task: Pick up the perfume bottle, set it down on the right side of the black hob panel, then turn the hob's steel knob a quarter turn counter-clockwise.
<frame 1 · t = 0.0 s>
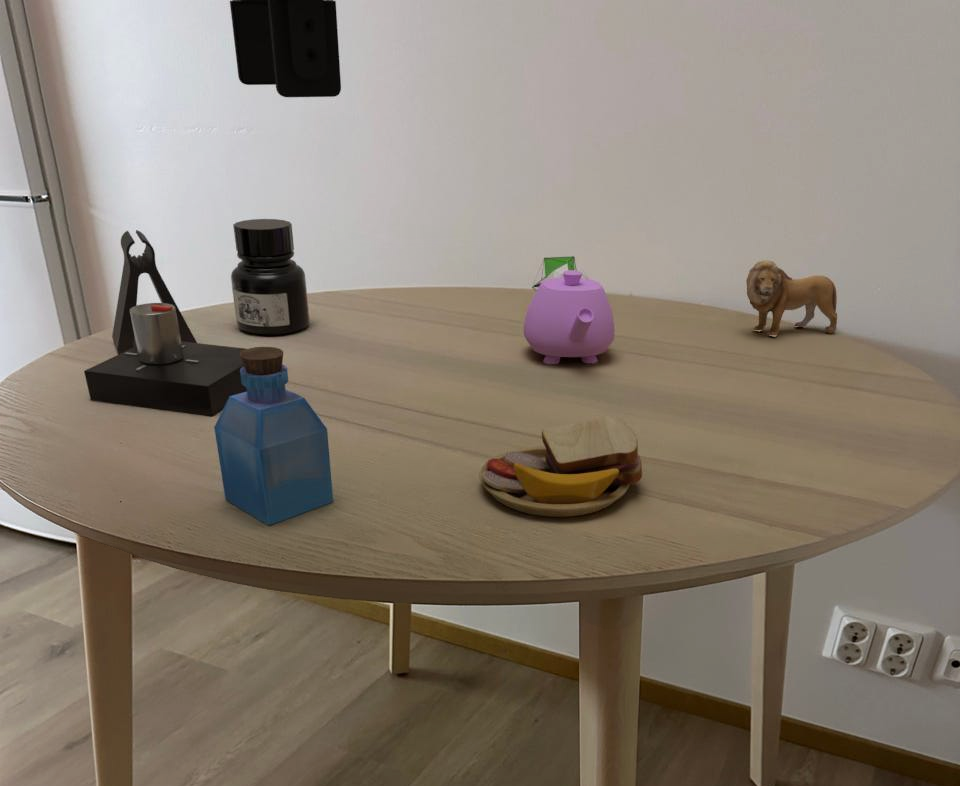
hand: (287, 89, 50), 29 cm above the table, tool pointing down, fingers open, 9 cm apart
teapot: (568, 359, 107), on the table
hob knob: (156, 332, 94), point 6 cm above the table, hinge at 0.0°
lion figurine: (786, 335, 117), on the table
hob: (183, 388, 97), on the table
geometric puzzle: (558, 309, 125), on the table
ink bottle: (274, 328, 116), on the table
toy sandwich meal: (559, 488, 78), on the table
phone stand: (155, 344, 110), on the table
perfume bottle: (279, 503, 75), on the table
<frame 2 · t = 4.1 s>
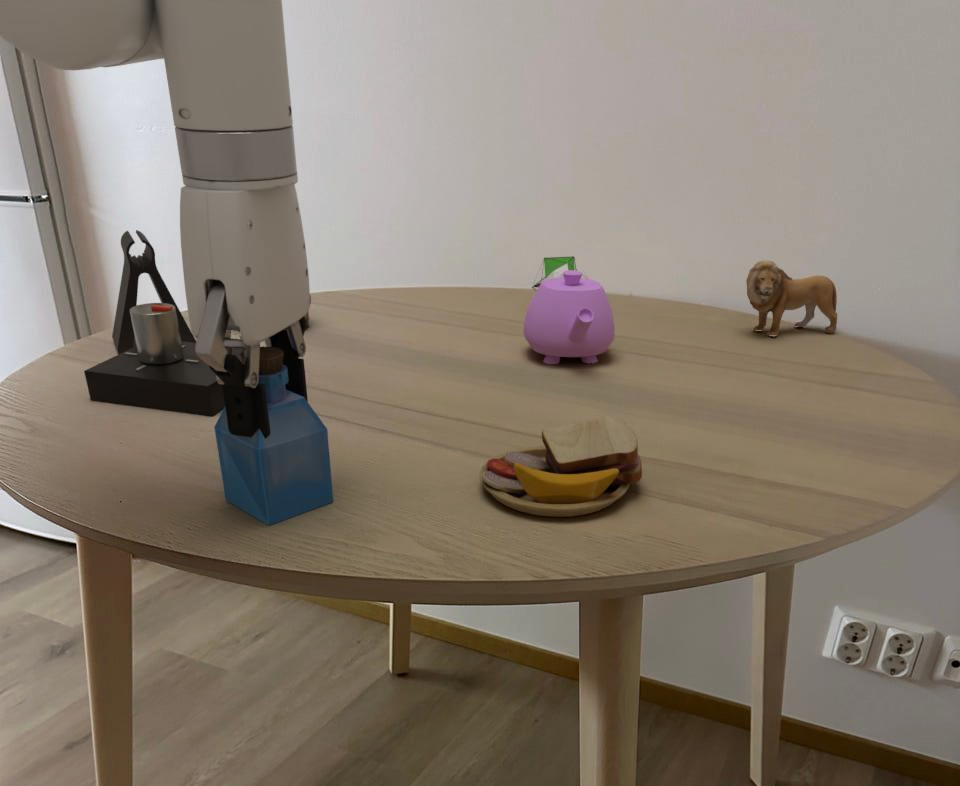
hand: (269, 418, 71), 7 cm above the table, tool pointing down, fingers closed on perfume bottle, 5 cm apart
perfume bottle: (279, 503, 75), on the table, touching gripper
everything else where it was.
when the fingers open (7 cm above the table, at t = 11.2 s): perfume bottle stays where it is, on the table.
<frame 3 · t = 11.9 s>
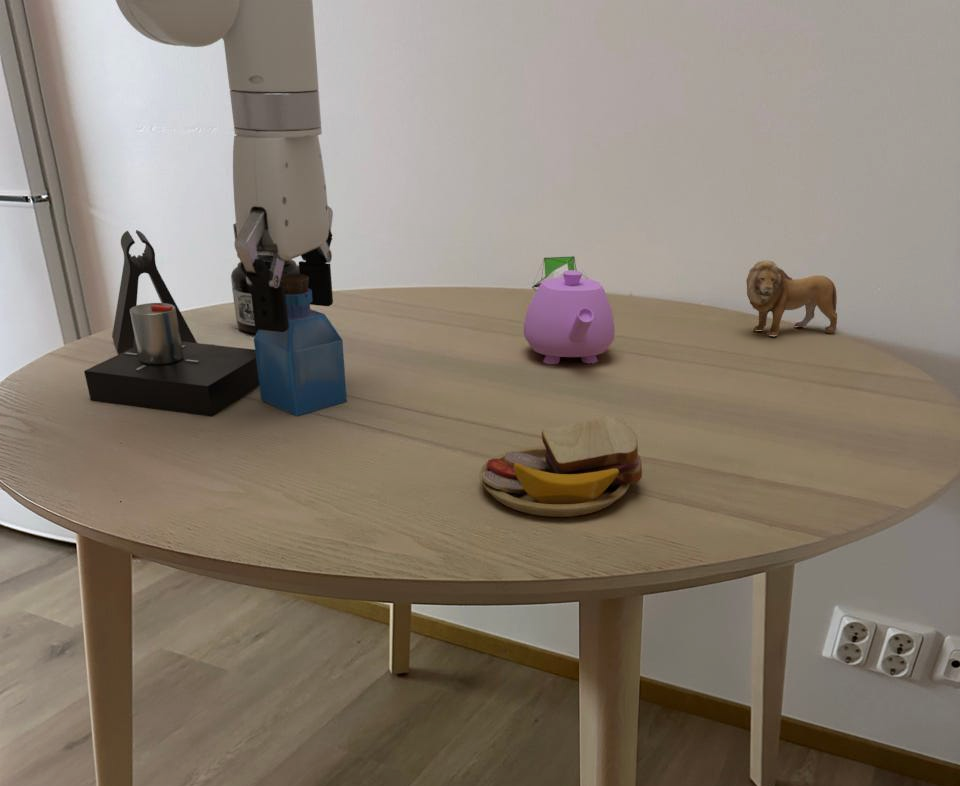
hand: (295, 316, 90), 8 cm above the table, tool pointing down, fingers open, 9 cm apart
perfume bottle: (304, 402, 94), on the table
everything else where it was.
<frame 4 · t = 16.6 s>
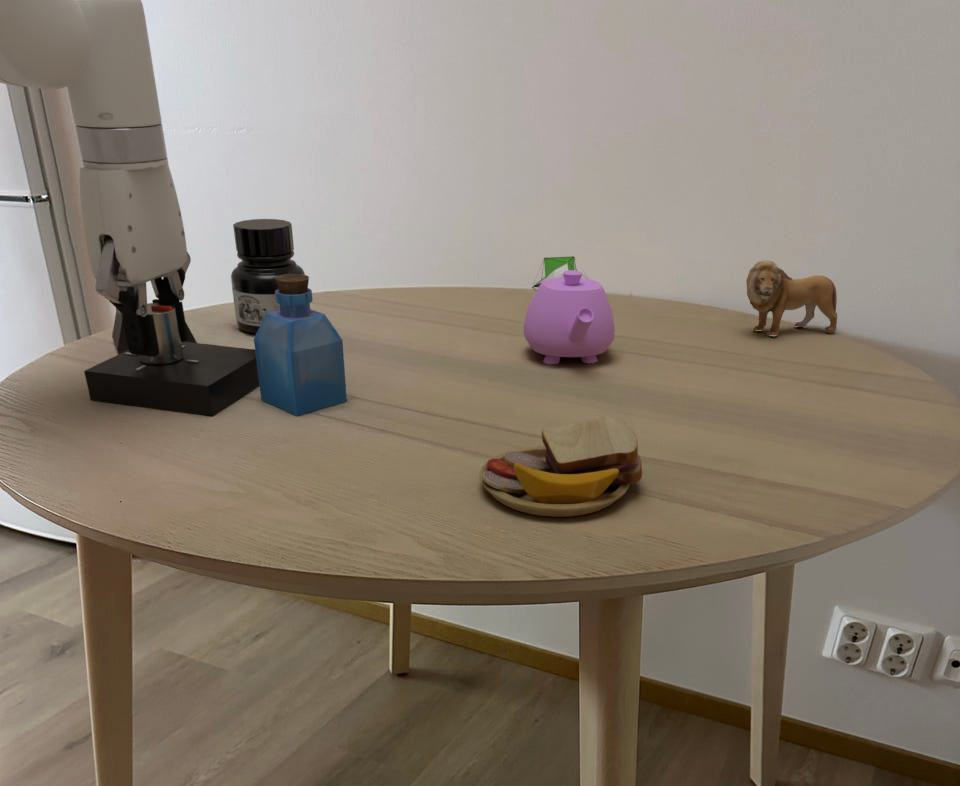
hand: (159, 345, 95), 4 cm above the table, tool pointing down, fingers closed on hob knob, 4 cm apart
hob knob: (156, 332, 94), point 6 cm above the table, hinge at 0.1°, touching gripper
everything else where it was.
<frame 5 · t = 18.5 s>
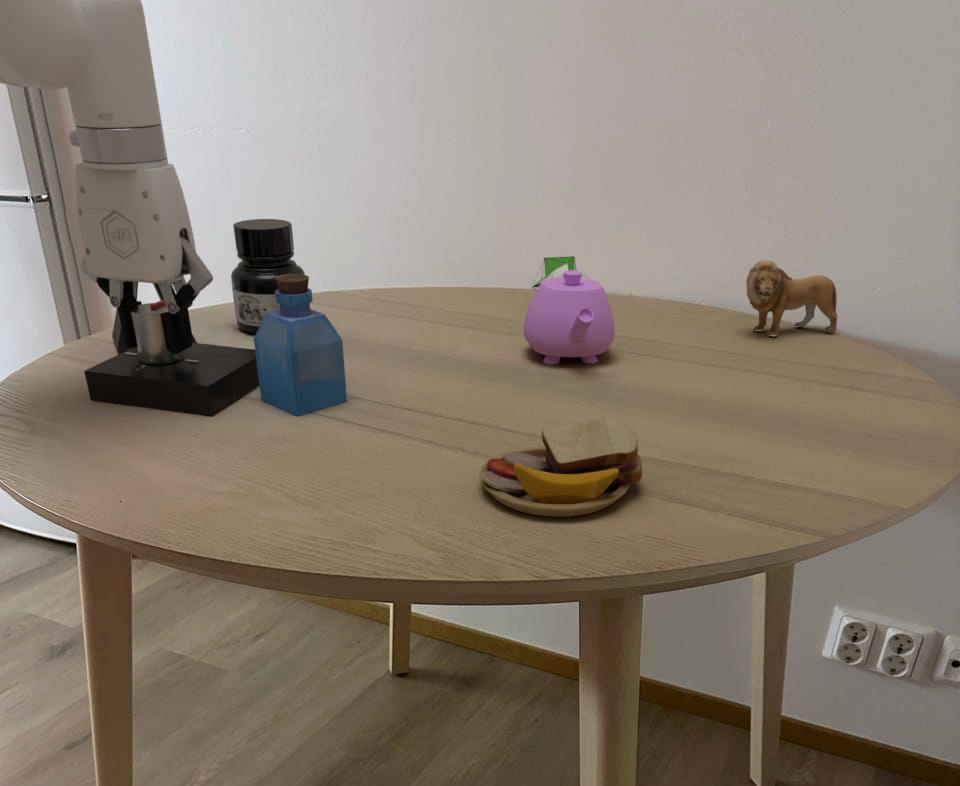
hand: (159, 345, 95), 4 cm above the table, tool pointing down, fingers closed on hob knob, 4 cm apart
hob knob: (156, 332, 94), point 6 cm above the table, hinge at 89.5°, touching gripper
everything else where it was.
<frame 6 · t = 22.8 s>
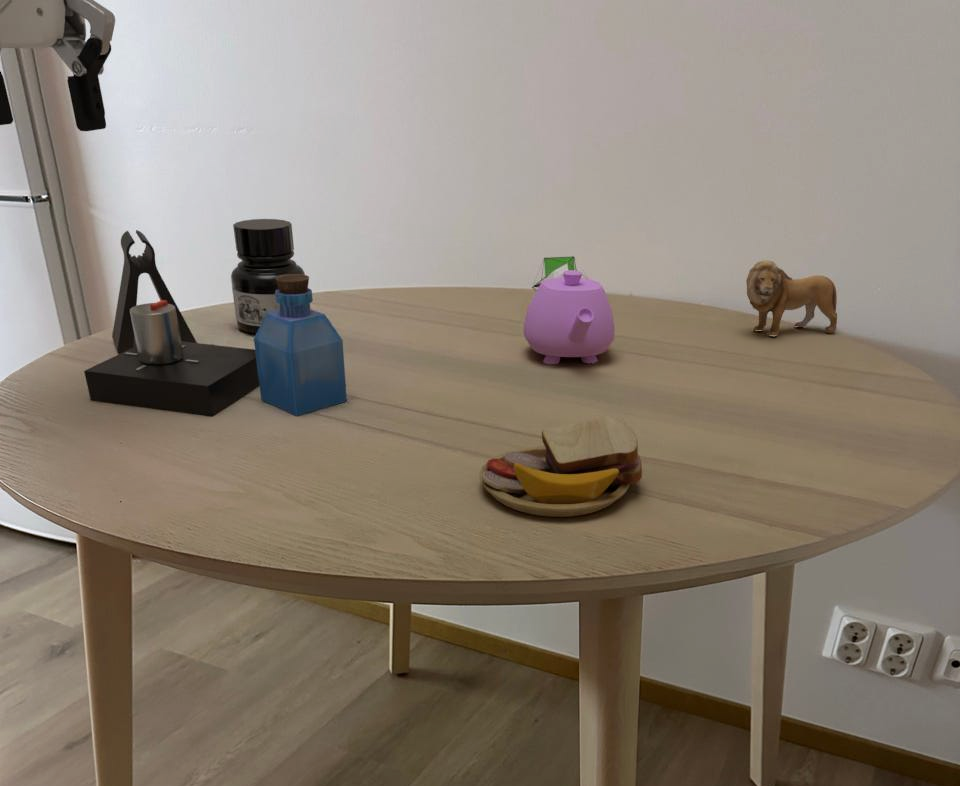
hand: (45, 127, 81), 24 cm above the table, tool pointing down, fingers open, 9 cm apart
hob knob: (156, 332, 94), point 6 cm above the table, hinge at 87.9°
everything else where it was.
at the end: perfume bottle inside the target area on the table beside the hob (0.6 cm from its centre), on the table; perfume bottle tilted 0°; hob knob at +88° (first picture: +0°) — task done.
